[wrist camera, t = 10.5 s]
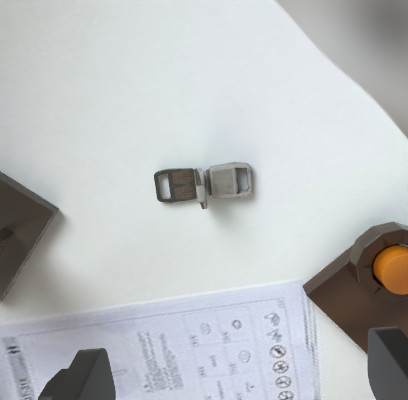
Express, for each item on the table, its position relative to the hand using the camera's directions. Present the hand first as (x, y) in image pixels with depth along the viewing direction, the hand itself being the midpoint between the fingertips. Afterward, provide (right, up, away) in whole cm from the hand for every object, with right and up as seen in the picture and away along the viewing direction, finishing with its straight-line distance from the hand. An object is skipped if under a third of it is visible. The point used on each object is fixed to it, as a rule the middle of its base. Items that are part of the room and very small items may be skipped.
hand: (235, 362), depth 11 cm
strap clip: (-1, +7, +21) cm, 22 cm away
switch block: (+16, -3, +23) cm, 28 cm away
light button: (+15, 0, +19) cm, 24 cm away
